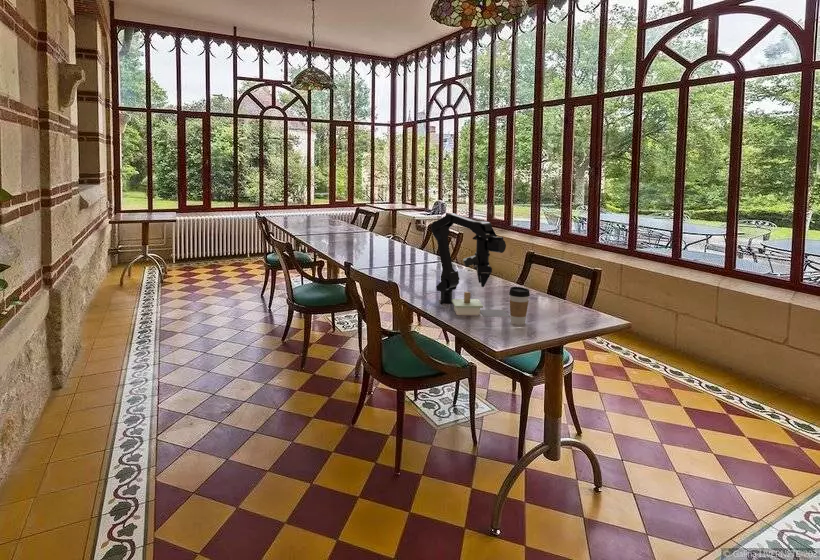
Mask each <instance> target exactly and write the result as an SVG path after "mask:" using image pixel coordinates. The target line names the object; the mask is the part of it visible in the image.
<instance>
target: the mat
mask: <svg viewBox="0 0 820 560" xmlns="http://www.w3.org/2000/svg"><path fill="white" fill-rule="evenodd" d="M480 316H482V317H483V318H497V317H498V318H510V313H508V312H507V311H506V310H505V309H480Z"/></svg>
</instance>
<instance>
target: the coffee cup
mask: <svg viewBox="0 0 820 560" xmlns="http://www.w3.org/2000/svg"><path fill="white" fill-rule="evenodd" d="M508 294H509V316H510V317H509V318H510V324H512V325H517V326H519V325H520V326H521V325H522V326H523V325H525V324H526V319H527V313H528V307H529V297H530V294H531V293H530V290H529V289H528V288H526V287H521V286H511V287H509V292H508Z"/></svg>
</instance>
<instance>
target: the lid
mask: <svg viewBox="0 0 820 560" xmlns="http://www.w3.org/2000/svg"><path fill="white" fill-rule="evenodd" d="M471 293H472V292H470V291H464V292H463V298H452V303H453V304H452V305H453V307H454V306H455V308H480V309H483V308H484V305H483V304H482V302H481V301H480V300H479V299H478V298H471Z"/></svg>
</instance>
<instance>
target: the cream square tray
mask: <svg viewBox="0 0 820 560" xmlns="http://www.w3.org/2000/svg"><path fill="white" fill-rule="evenodd" d="M453 310H454V312H455V314H456V316H460V317H461V316H475V317H477V316H478V317H479V316H481V313H480V310H481V308H455V306H454V305H453Z"/></svg>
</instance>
